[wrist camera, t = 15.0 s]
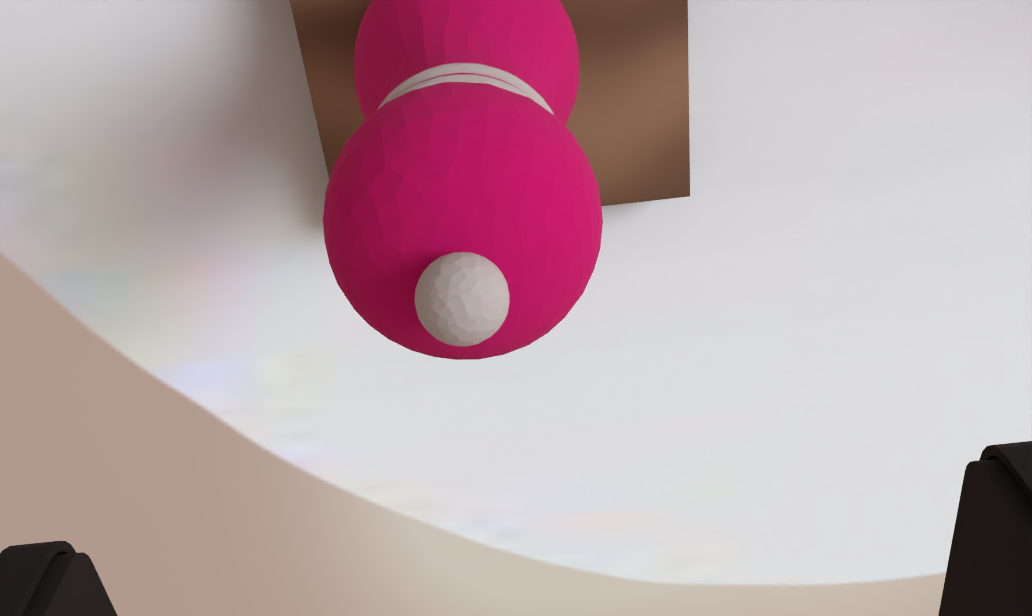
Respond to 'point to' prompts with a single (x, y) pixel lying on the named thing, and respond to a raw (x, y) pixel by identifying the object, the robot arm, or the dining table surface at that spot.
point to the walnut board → (600, 96)
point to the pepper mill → (463, 177)
